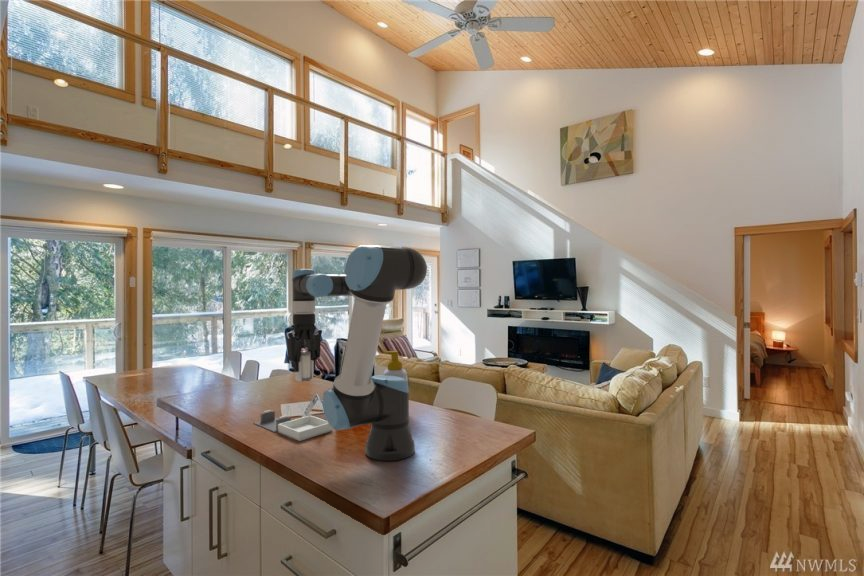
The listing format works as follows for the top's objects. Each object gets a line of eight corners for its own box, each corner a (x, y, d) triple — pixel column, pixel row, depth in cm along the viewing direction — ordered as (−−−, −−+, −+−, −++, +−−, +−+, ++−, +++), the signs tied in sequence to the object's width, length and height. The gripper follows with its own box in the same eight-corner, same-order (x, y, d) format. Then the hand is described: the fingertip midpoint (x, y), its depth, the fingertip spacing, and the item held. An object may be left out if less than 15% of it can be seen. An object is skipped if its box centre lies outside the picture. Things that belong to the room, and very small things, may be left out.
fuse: (313, 380, 151) (313, 351, 151) (302, 382, 148) (302, 353, 148) (306, 378, 154) (306, 350, 154) (296, 380, 150) (295, 352, 150)
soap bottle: (384, 411, 174) (384, 349, 174) (406, 411, 174) (406, 349, 174) (382, 418, 165) (382, 353, 165) (406, 418, 166) (405, 353, 165)
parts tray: (332, 430, 151) (332, 422, 151) (299, 441, 141) (299, 432, 141) (310, 423, 160) (310, 415, 160) (277, 432, 150) (277, 424, 150)
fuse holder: (297, 426, 156) (297, 414, 156) (274, 433, 150) (274, 420, 150) (276, 418, 166) (275, 407, 166) (253, 424, 159) (253, 412, 159)
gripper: (318, 311, 160) (319, 374, 160) (275, 314, 146) (276, 382, 147) (330, 312, 155) (331, 377, 155) (287, 314, 142) (288, 385, 142)
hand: (304, 379), depth 151 cm, fingers closed on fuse, 4 cm apart
